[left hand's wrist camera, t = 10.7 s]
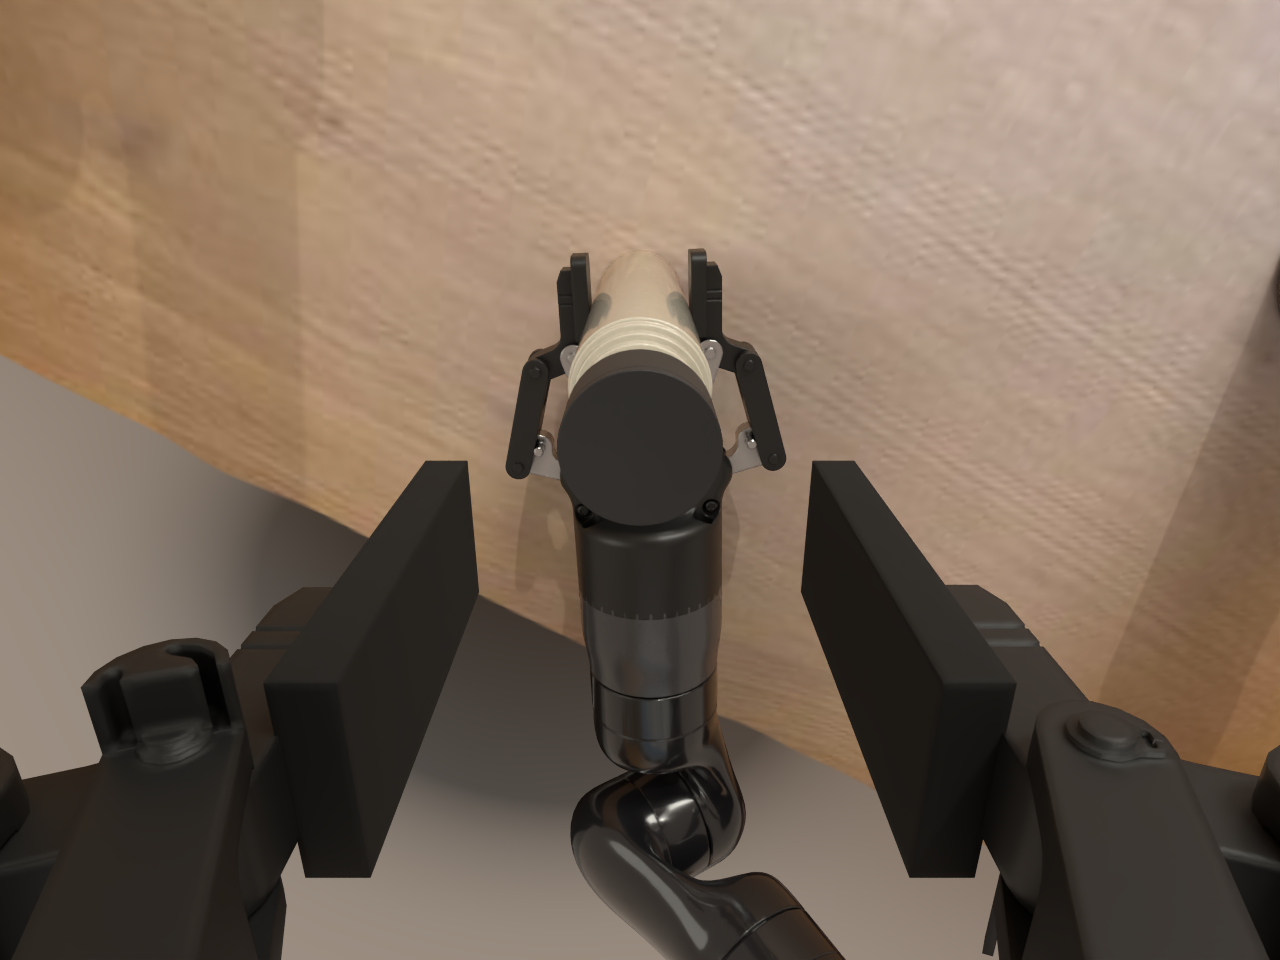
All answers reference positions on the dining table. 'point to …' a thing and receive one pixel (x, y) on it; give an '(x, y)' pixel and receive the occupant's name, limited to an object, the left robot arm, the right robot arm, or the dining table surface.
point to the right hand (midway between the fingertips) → (637, 254)
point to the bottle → (639, 317)
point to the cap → (639, 438)
